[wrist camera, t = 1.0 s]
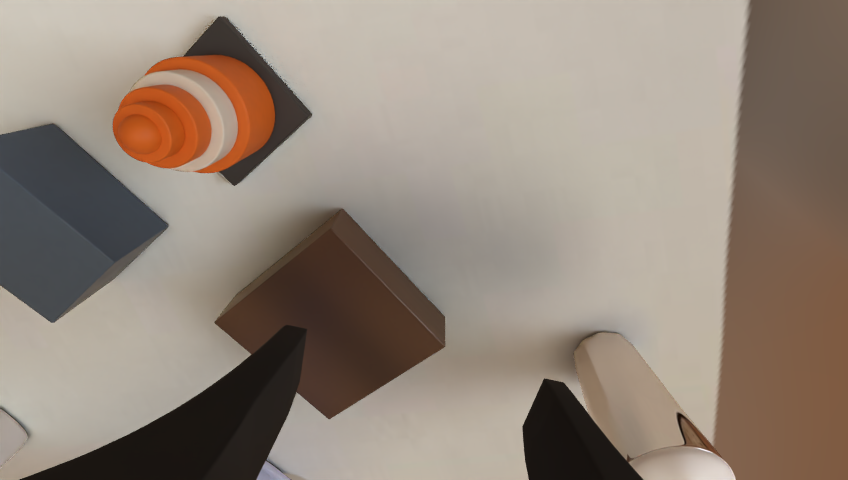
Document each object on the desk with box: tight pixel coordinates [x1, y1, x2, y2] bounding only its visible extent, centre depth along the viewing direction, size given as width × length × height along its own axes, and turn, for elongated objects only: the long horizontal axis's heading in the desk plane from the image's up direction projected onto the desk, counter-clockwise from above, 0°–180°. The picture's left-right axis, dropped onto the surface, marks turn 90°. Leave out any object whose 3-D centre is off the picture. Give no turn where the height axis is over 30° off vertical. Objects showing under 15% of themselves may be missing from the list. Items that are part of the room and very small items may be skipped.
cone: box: [113, 17, 312, 186], centre depth 16 cm, size 5×5×7 cm
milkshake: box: [573, 332, 736, 480], centre depth 19 cm, size 4×5×10 cm
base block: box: [214, 209, 445, 419], centre depth 22 cm, size 8×8×2 cm
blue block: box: [0, 124, 168, 323], centre depth 20 cm, size 5×6×4 cm
